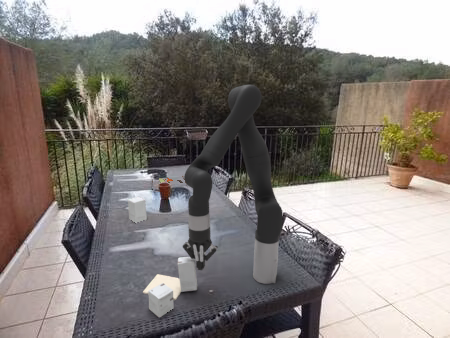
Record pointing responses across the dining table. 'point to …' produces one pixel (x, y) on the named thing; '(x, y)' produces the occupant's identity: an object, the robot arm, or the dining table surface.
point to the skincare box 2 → (187, 274)
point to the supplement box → (137, 209)
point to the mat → (167, 280)
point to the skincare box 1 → (161, 299)
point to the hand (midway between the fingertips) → (200, 268)
